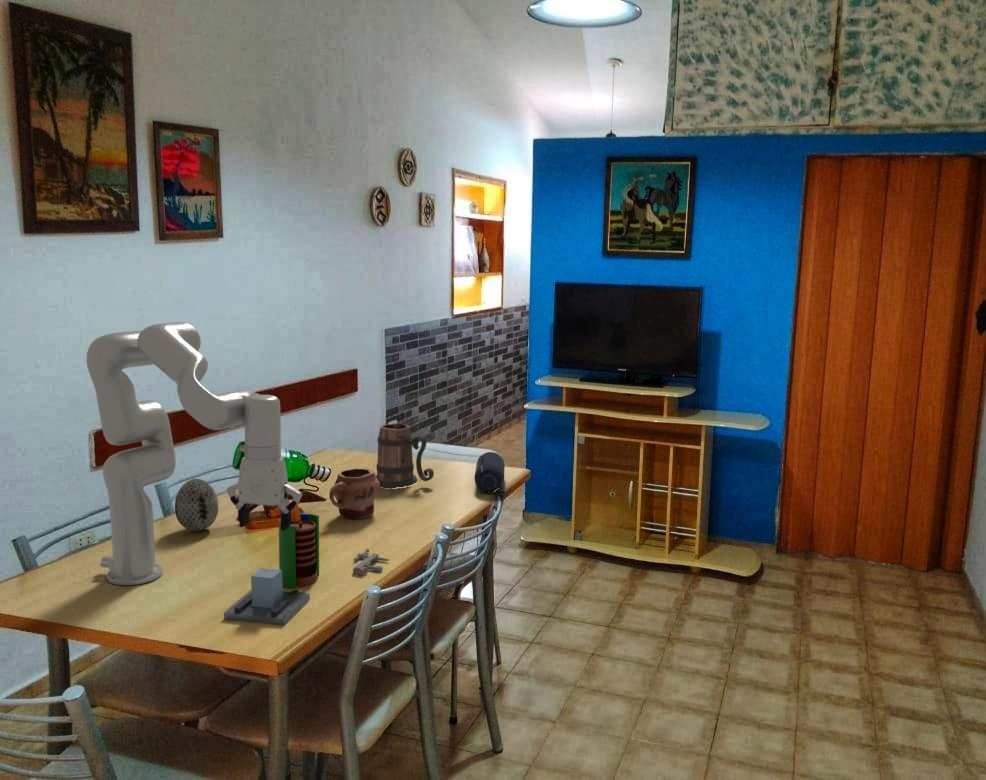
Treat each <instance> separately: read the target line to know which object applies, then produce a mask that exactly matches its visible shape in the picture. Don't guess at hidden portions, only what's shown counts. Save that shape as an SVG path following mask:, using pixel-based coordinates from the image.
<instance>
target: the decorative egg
mask: <svg viewBox="0 0 986 780" xmlns="http://www.w3.org/2000/svg"><path fill="white" fill-rule="evenodd" d="M174 502H175V503H174V512H175V517H176V519H177V521H178V523H179V524H180V525H181V526H182V527H183V528H185V529H186V530H189V531H192V532H201V531H204V530H206V529H208V528H209V527H211V526H212V525H213V524H214V522H215V521H216V519H217V516H218V513H219V500H218V496H217V493H216V491H215V490H214V488H213V487H212V485H210V484H209V483H208V482H207V481H205V480H203V479H200V478H192V479H190V480H188V481H186V482H185V483H184V484H182V486H181V487H180V488H179V490H178V492H177V494H176V497H175V500H174Z"/></svg>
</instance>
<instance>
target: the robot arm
mask: <svg viewBox="0 0 986 780" xmlns="http://www.w3.org/2000/svg"><path fill="white" fill-rule="evenodd" d="M201 344H202V343H201V336H200V333H199V332H198V331H197V329H196V328H195V327H194V326H193V325H191V324H189V323H187V322H180V321H178V322H166V323H156V324H152V325H149V326H146V327H145V328H144V329H142V330H133V331H132V330H131V331H121V332H119V331H118V332H112V333H108V334H104V335H101V336H99V337H97V338H95V339H93V341H91V343H90V344H89V347H88V349H87V351H86V367H87V370H88V373H89V377H90V379H91V382H92V383H93V386H94V387H93V388H94V390H95V395H96V402H97V406H98V408H97V409H98V412H99V418H100V424H101V429H102V433H103V436H104V438H105V441H106V442H107V443H108V444H110V445H113V446H125V445H130V444H135V443H138V442H141V444H142V446H138V447H132V448H129V449H125V450H121V451H118V452H116V453H114V454H112V455H110V456H109V457H108V458H107V459H106V460H105V462H103V463H104V464H103V466H102V477H103V480H104V484H105V488H106V492H107V496H108V506H109V519H110V533H111V549H112V551H111V552H112V556H108V555H107V556H105V555H104V556H103V557H101V561H100V564H99V566H100V568H108V569H109V571H108V572H107V575H106V580H107V581H108V583H110V584H112V585H118V586H135V585H140V584H146V583H149V582H152V581H155V580H157V579H158V578H160V577H161V576H162V574H163V573H164V572H163V566H162V565H159V564H158V563H156V551H155V550H156V549H155V531H154V529H155V527H154V513H153V503H152V500H151V498H150V497H149V495H147V493H146V491H145V489H144V487H147V486H149V485H153V484H155V483H159V482H162V481H164V480H168V479H169V478H170V477H171V476H172V475H173V474H174V473H175V469H176V465H177V463H176V453H175V446H174V441H173V436H172V435H173V434H172V430H171V424H170V418H169V416H168V413H167V412H166V410H165V408H164V407H163V406H162V405H161V404H160V403H158V402H157V401H154V400H141V401H138V399H137V395H136V390H135V386H134V383H133V381H132V380H131V379H130V377H129V376H128V375H127V373H125V372H124V371H123V370H124V369H128V368H137V367H144V366H145V367H146V366H152V365H154V366H155V367H157V368H158V369H159V371H161V372H163V373H164V374H165V375H166V376H167V377H168V378H170V380H172V381H173V382H174V383H175V384H176V385H177V386H176V390H177V391H176V392H177V396H178V399H179V402H180V404H181V406H182V408H183V409H184V411H185V412H186V413H187V414H188V415H189V416H191V417H192V418H193V419H194V420H195V421H196V422H198V423H199V424H200V425H201V426H203V427H205V428H207V429H210V430H212V431H221V430H224V429H229V428H233V427H237V426H238V427H239V426H243V425H244V444H241V445H240V446H239V451H240V452H243V453H244V456H243V457H242V458H241V460H240V465H239V472H238V482H236V483H235V484H233V485H231V486H228V487H227V488H226V491H225V492H227V495H228V497H229V498H230V499H229V500H230V501H231V503H232V504H233V505H234V506H235V509H236V510H237V515H238V516H237V517H238V519H237V520H238V522H239V528H244V527H245V526H247V525H249V523H250V512H249V511H250V508H249V505H259V506H271V507H273V506H274V507H276V506H278V508H279V509H280V510H281V511H282V512H281V513H280V518H281V530H282V531H285V530H286V529H288V528H289V526H290V525H291V510H292V509H293V508H294V507H295V506H296V505H297V504H298V505H299V502H300V500H301V499H302V498H303V492H301V491H300V490H298V489H296V488H294V487H292V486H291V485H290V484H289V479H288V472H287V465H286V462H285V458H284V457H283V456H282V438H281V437H282V433H281V432H282V431H281V428H282V427H281V425H282V424H281V423H282V422H281V401H280V399H279V398H278V397H277V396H275V395H272V394H259V393H258V392H254V391H252V390H246V389H241V390H240V389H239V390H235V391H228V392H224V393H219V394H212V393H211V392H209V390H207V389H206V388H205V387H204V386H203V385H202V384H200V382H201V381H202V380H203V378H204V377H205V375H206V373H207V371H208V367H209V361H208V359H207V358H206V357H205V356H204V355H203V354H202V353H200V352H199V350H200V348H201ZM289 495H290V496H292V499H291V500H292V502H291V503H290V502H289V501H288V500H289ZM247 504H249V505H247Z"/></svg>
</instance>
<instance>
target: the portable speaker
mask: <svg viewBox="0 0 986 780" xmlns="http://www.w3.org/2000/svg"><path fill="white" fill-rule="evenodd" d="M473 477H474V483H475V486H476V488H478V490H480V491H481V492H482V491H484V492H483V493H485V492H494V491H495V490H496V489H498V488H500V489H501V488H502V486H504V485H503V484H504V481H505V462H504V459H503V457H502V456H501V455H500V454H499V453H497V452H493V451H486V452H484V453H483V454H481V455H480V456H479V457H478V458H477V461H476V467H475V472H474V476H473Z"/></svg>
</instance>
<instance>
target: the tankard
mask: <svg viewBox="0 0 986 780" xmlns="http://www.w3.org/2000/svg"><path fill="white" fill-rule="evenodd" d="M410 427H411V426H410V425H408V424H407V423H394V424H392V423H391V424H383V425H380V427H379V433H378V437H377V463H376V477H377V480H378V481H379V483H380V487H383V488H382V489H384V488H396V487H404V486H409V485H412V484H414V483H416V482H417V479H418V478H419V479H420V480H421V481H423V482H428V481H430V480H433V478H434V475H435V473H434V470H433V469H432V468H426V469H424V470H423V468H422V456H423V454H424V452H425V449H426V447H427V439H426V437H425V436H424V435H418V436H414V437H413V436H412V433H411V428H410ZM419 440H420V441H419ZM419 442H421V444H420V443H419ZM419 444H420V445H421V446H420V449H419ZM413 449H414V450H415V451H416V450H418V452H417V454H416V455H417V456H416V459H415V461H416V462H415V467H416V472H417V475H418V478H417V476H416V475H415V474H414V470H415V467H414V462H413V460H414V459H413ZM427 476H428V477H427Z"/></svg>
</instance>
